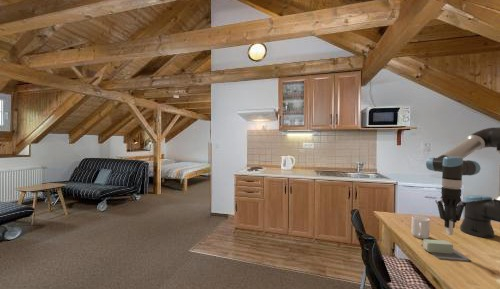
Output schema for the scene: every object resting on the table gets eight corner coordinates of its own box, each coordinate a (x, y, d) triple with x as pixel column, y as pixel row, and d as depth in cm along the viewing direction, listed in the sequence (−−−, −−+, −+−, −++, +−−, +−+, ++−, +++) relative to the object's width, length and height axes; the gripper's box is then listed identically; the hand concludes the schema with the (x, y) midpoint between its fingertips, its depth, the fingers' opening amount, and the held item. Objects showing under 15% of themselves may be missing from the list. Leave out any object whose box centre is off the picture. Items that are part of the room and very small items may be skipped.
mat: (449, 247, 123) (450, 246, 123) (471, 261, 109) (471, 260, 109) (421, 245, 125) (421, 244, 125) (438, 259, 111) (438, 257, 111)
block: (446, 240, 119) (422, 239, 121) (452, 244, 115) (428, 242, 116) (446, 249, 120) (422, 247, 121) (452, 253, 115) (427, 251, 117)
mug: (411, 238, 133) (411, 220, 133) (411, 231, 143) (411, 214, 143) (430, 242, 128) (430, 223, 128) (428, 235, 138) (429, 217, 138)
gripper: (460, 186, 119) (457, 231, 120) (432, 185, 121) (430, 230, 122) (471, 189, 112) (469, 238, 112) (442, 188, 113) (440, 236, 114)
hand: (449, 233), depth 117 cm, fingers closed
